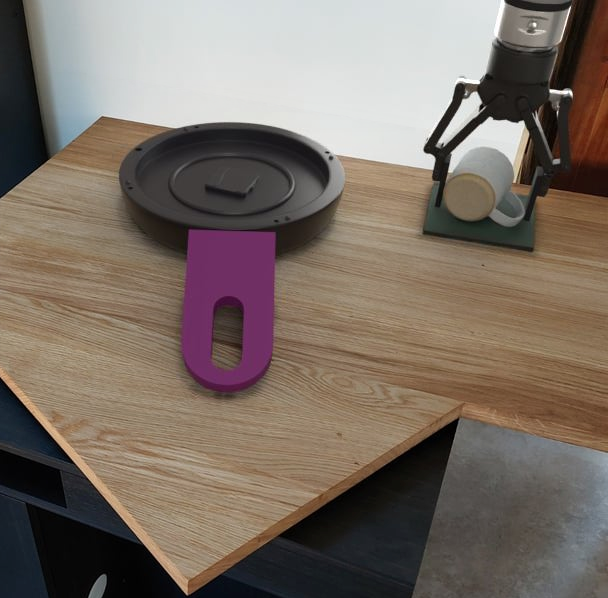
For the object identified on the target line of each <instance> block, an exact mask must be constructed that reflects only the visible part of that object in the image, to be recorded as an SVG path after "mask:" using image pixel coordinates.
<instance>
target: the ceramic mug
mask: <svg viewBox="0 0 608 598" xmlns="http://www.w3.org/2000/svg"><path fill="white" fill-rule="evenodd" d="M514 179H515V171H514V166H513V164H512V162H511V160H510V159H509V158H508V156H506V154H504V153H503V152H502V151H500V150H499V149H497V148H493V147H491V146H479V147H478V146H477V147H475V148H472V149H470V150H469V151H467V152H466V153H464V155H463V156H462V157H461V159H460V160H459V162H458V163H457V164H456V166H455V168H454V169H453V171H452V172H451V174H450V175H449V177H447V179H446V184H445V187H444V190H443V201H444V204H445V206H446V208H447V210H448V211H449V212H450V213H451V214H452V215H453V216H455V217H456V218H458V219H460V220H463V221H469V222H473V221H478V220H481V219H483V218H485V217H487V216H489V217H490V218H491V219H492V220H493V221H495V222H496V223H498V224H500V225H502V226H507V227H512V226H515V225H517V224H518V222H519V221H520V220H521V219H522V218H523V217H524V215H525V208H524V205H523V203H522V202H521V200H520V199H519V198H518V196H517V195H516V194H517V193H516V194H515V192H514V191H513V190H512V189H511V188H512V187H513V184H514ZM502 199H504V200H506V201H507V202H508V203H509V204H510V205H511V207H512V208H513V209H514V211H515V213H516V217H515V218H510V217H508V216H506V215H504V214H502V213H501V212H500V211H498V210H497V209H496V207H497V206H498V205H499V203H500V202H501V200H502Z"/></svg>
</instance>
